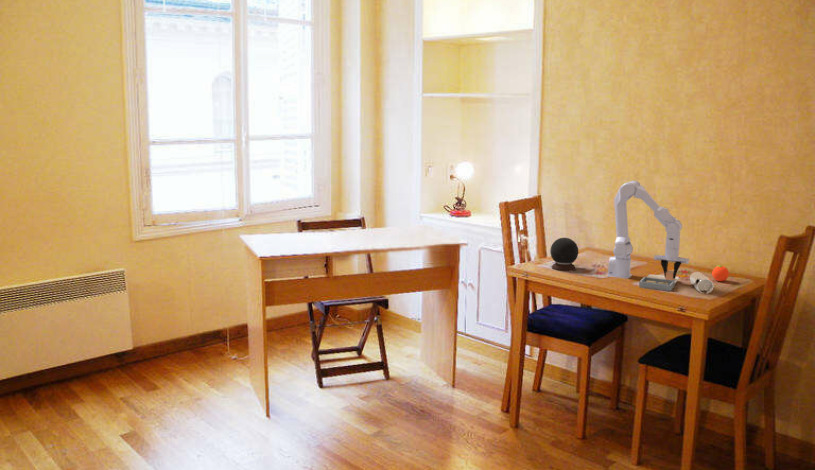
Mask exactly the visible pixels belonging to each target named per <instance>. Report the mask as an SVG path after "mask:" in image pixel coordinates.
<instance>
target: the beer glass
mask: <svg viewBox="0 0 815 470" xmlns="http://www.w3.org/2000/svg"><path fill="white" fill-rule="evenodd" d="M689 282H690V283H691V284H692V285H693V286H694V289H695V290H696V291H697V292H699V293H701V294H703V292H705V291H706V294H709V293H711V292H712V291H713V289H714V283H713V281H712V280H711V279H710V278H709V277H708V276H706V275H704V274H703V273H702V272H700V271H695V272H692V273H691V274H690V275H689ZM702 291H703V292H702Z"/></svg>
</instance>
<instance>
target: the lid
mask: <svg viewBox="0 0 815 470" xmlns="http://www.w3.org/2000/svg"><path fill="white" fill-rule="evenodd" d="M673 274H674V270H667V272H666V278H665V276H664V275H660V274H648V275H647V276H646V277H650V278H658V279H666V280H674V281H675V284H676V283H677V282H678V281H679V278H680V277H679V276H676V277H675V279H673Z"/></svg>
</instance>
